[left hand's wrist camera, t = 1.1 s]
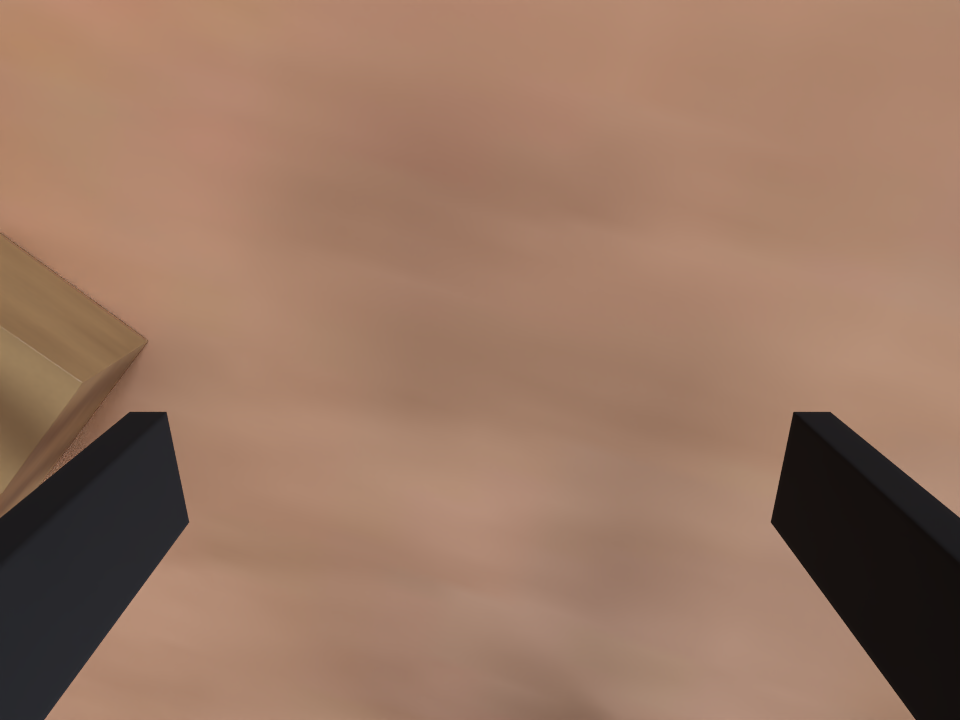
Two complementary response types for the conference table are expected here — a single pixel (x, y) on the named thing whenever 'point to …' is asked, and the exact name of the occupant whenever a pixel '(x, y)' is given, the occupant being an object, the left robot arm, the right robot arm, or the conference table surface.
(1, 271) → the wide beam
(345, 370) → the conference table surface
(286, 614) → the conference table surface
